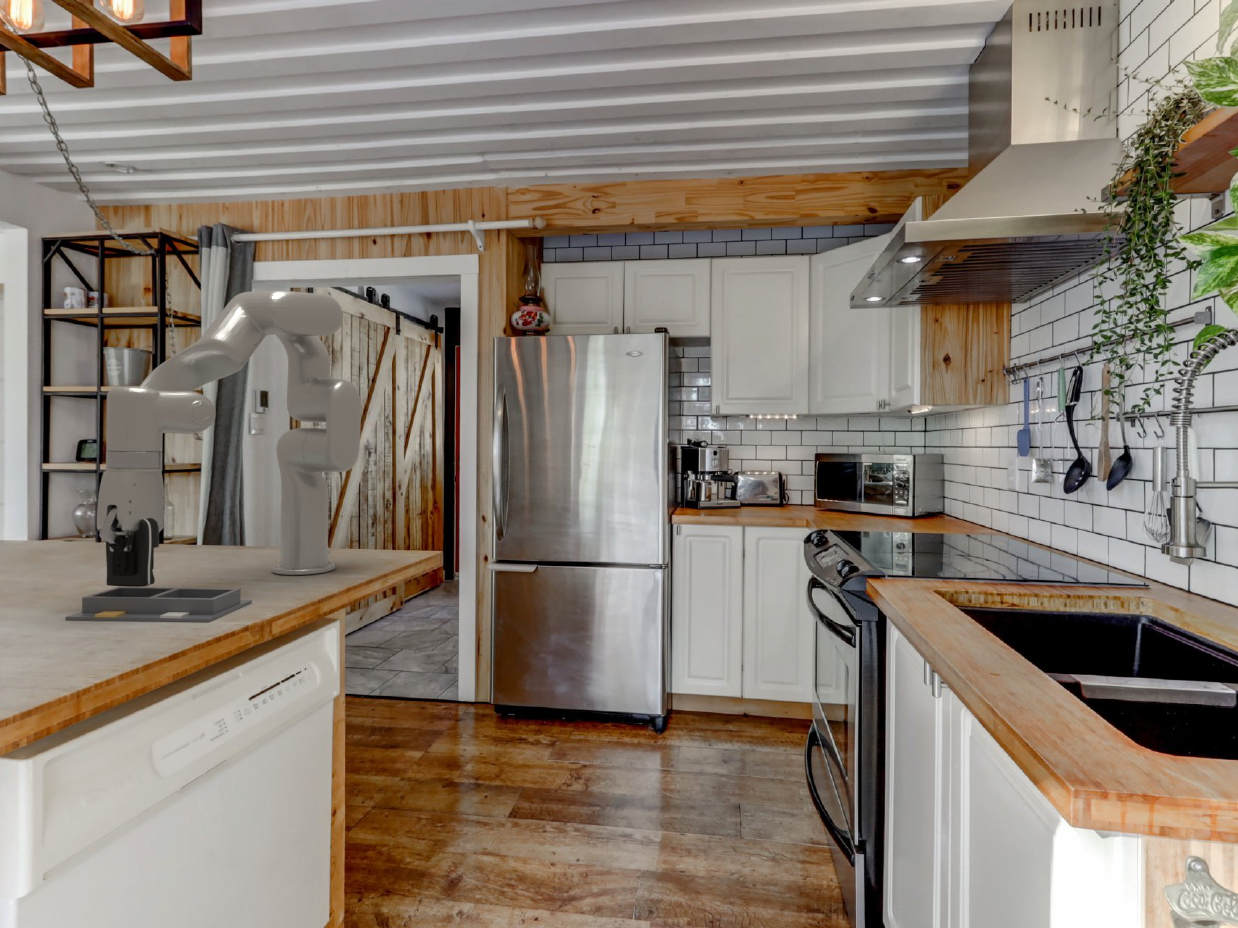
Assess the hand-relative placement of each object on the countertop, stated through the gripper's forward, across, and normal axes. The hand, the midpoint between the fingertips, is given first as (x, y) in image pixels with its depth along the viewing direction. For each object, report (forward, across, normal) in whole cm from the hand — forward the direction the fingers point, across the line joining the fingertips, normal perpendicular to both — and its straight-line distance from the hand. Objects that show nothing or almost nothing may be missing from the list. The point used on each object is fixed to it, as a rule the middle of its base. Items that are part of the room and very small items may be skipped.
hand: (133, 571), depth 110 cm
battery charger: (+2, 0, 0) cm, 2 cm away
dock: (+6, 0, +5) cm, 8 cm away
